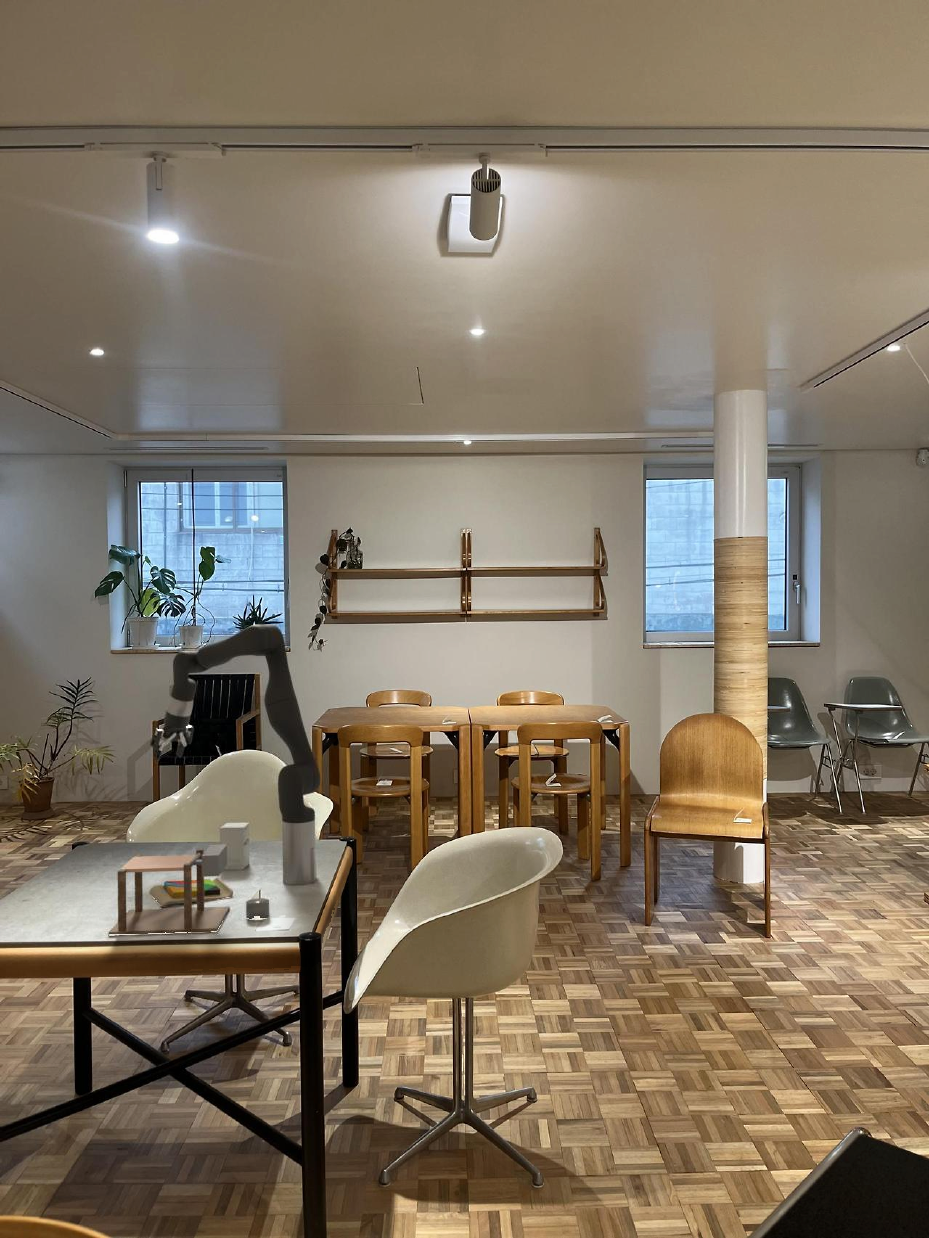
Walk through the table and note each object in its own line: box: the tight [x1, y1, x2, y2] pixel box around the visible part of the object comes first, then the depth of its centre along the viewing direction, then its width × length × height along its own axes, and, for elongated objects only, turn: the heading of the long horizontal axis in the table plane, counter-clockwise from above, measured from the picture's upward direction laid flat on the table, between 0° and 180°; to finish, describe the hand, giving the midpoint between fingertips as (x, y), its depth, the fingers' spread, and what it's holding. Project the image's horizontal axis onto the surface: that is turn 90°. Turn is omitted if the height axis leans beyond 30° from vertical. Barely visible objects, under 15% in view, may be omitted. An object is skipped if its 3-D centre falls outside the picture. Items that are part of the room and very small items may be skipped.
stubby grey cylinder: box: [245, 897, 270, 919], centre depth 230 cm, size 6×6×4 cm
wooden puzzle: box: [149, 877, 234, 908], centre depth 250 cm, size 18×19×4 cm
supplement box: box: [219, 822, 250, 871], centre depth 278 cm, size 7×7×13 cm
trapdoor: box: [119, 844, 227, 878], centre depth 226 cm, size 23×12×5 cm, turn 94°
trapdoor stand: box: [108, 848, 231, 935], centre depth 226 cm, size 25×17×16 cm
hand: (167, 757), depth 293 cm, fingers open, 8 cm apart
